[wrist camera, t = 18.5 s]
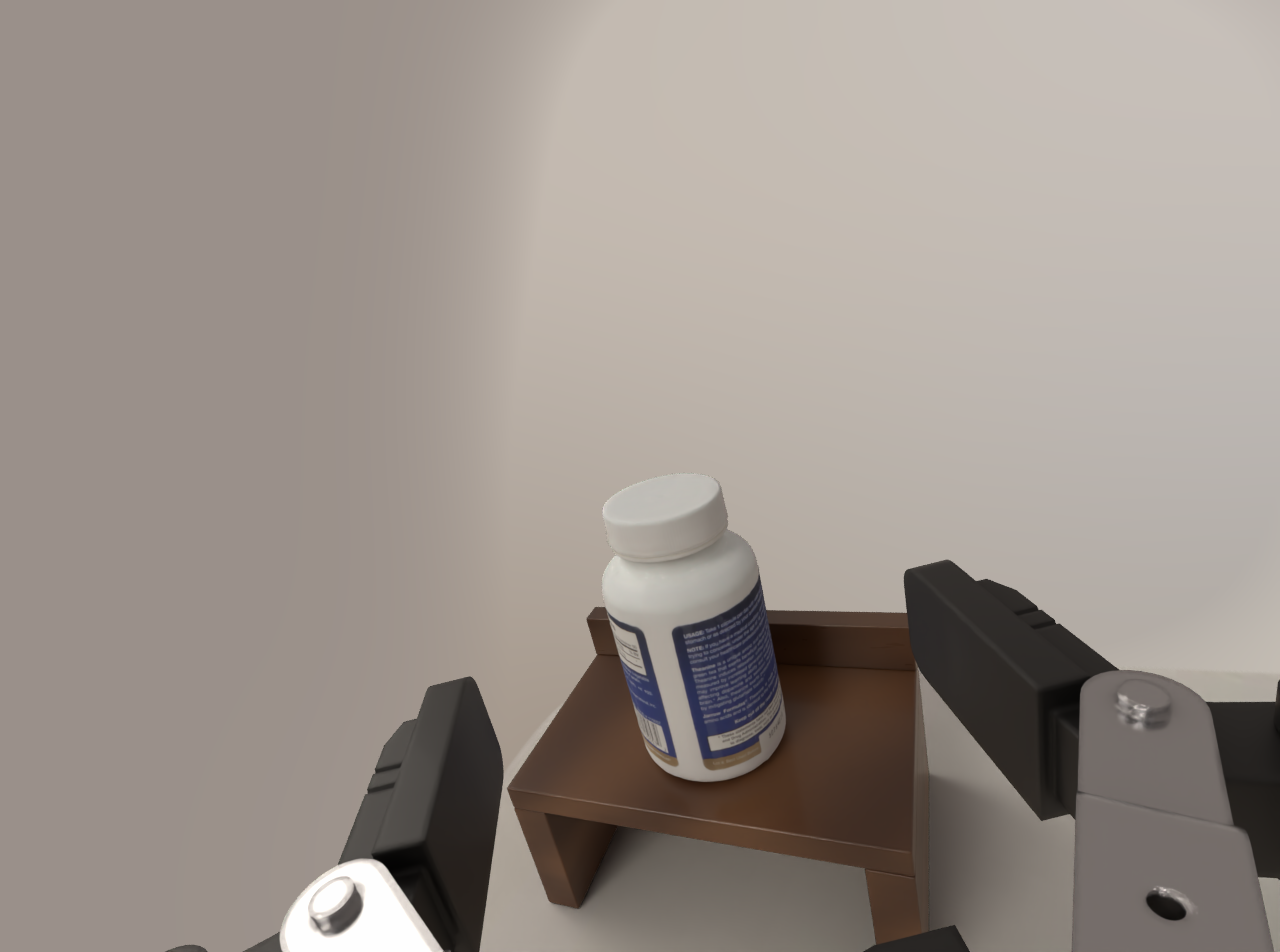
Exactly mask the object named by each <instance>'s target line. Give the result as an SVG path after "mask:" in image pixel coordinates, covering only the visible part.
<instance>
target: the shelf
mask: <svg viewBox="0 0 1280 952" xmlns="http://www.w3.org/2000/svg"><path fill="white" fill-rule="evenodd" d="M766 612H767V618H768V623H769V628H770V633H771V639H772V644H773V649H774V654H775V659H776V664H777V670H778V676H779V681H780V686H781V690H782V695H783V701H784V708H785V715H786V725H785V730H784V734H783V737H782V739H781V741H780V743H779V745H778V747H777V748H776V750H775V751H774V752H773V754H772V755H771V756H770V758H769V759H768V760H766V761H765V762H763V763H762V764H761V765H760V766H758V767H757V768H755V769H754V770H752V771H750V772H748V773H746V774H744V775H741V776H738V777H735V778H732V779H728V780H723V781H714V782H699V781H692V780H687V779H683V778H680V777H677V776H674V775H672V774H670V773H668V772H666V771H665V770H664V769H662V768H661V767H660V766H659V765H658V764H657V763H656V762H655V761H654V760H653V759H652V757H651V756H650V754H649V752H648V750H647V748H646V745H645V742H644V739H643V736H642V733H641V730H640V727H639V724H638V719H637V716H636V713H635V709H634V705H633V701H632V698H631V694H630V691H629V688H628V684H627V681H626V677H625V674H624V670H623V667H622V663H621V660H620V656H619V653H618V649H617V645H616V642H615V639H614V635H613V631H612V628H611V625H610V621H609V617H608V614H607V610H606V608H605V607H595V608H594V609H593V611H592V612H591V613H590V615H589V616H588V617H587V623H588V626H589V629H590V633H591V636H592V639H593V643H594V646H595V650H596V653H597V656H596V658H595V659H594V660H593V662H592V663H591V665H590V666H589V668H588V669H587V671H586V672H585V674H584V675H583V677H582V678H581V680H580V681H579V683H578V684H577V686H576V687H575V688H574V690H573V691H572V693H571V694H570V696H569V697H568V699H567V700H566V702H565V703H564V705H563V706H562V708H561V709H560V711H559V712H558V714H557V715H556V717H555V718H554V719H553V721H552V722H551V724H550V725H549V727H548V728H547V730H546V731H545V733H544V734H543V736H542V737H541V739H540V740H539V742H538V743H537V745H536V746H535V748H534V749H533V751H532V752H531V753H530V755H529V756H528V758H527V759H526V761H525V762H524V764H523V765H522V767H521V768H520V770H519V771H518V773H517V774H516V776H515V777H514V779H513V780H512V782H511V783H510V784H509V786H508V788H507V790H508V793H509V795H510V798H511V801H512V803H513V806H514V807H515V812H516V815H517V817H518V820H519V823H520V825H521V828H522V831H523V833H524V836H525V839H526V841H527V844H528V846H529V849H530V852H531V854H532V857H533V860H534V862H535V865H536V868H537V870H538V873H539V876H540V878H541V881H542V884H543V886H544V889H545V891H546V894H547V897H548V899H549V901H550V902H552V903H556V904H560V905H565V906H569V907H573V908H577V909H578V908H579V907H580V905H581V903H582V901H583V899H584V897H585V895H586V893H587V890H588V888H589V886H590V884H591V882H592V880H593V878H594V876H595V873H596V871H597V869H598V867H599V865H600V863H601V861H602V859H603V856H604V854H605V852H606V850H607V848H608V846H609V844H610V842H611V839H612V837H613V835H614V833H615V831H616V829H617V827H618V826H624V827H629V828H635V829H641V830H647V831H653V832H658V833H664V834H670V835H676V836H681V837H687V838H693V839H699V840H704V841H710V842H716V843H722V844H728V845H733V846H739V847H745V848H751V849H756V850H762V851H768V852H774V853H779V854H785V855H791V856H797V857H803V858H808V859H814V860H820V861H826V862H831V863H837V864H843V865H849V866H854V867H860V868H865V873H866V880H867V886H868V893H869V899H870V906H871V913H872V919H873V926H874V932H875V939H876V945H878V944H882V943H886V942H890V941H893V940H897V939H901V938H905V937H909V936H913V935H917V934H921V933H925V932H929V768H928V758H927V748H926V739H925V729H924V719H923V709H922V699H921V689H920V680H919V671H918V665H917V663H916V661H915V658H914V655H913V652H912V649H911V644H910V636H909V627H908V617H907V613H882V612H830V611H775V610H774V611H773V610H766Z"/></svg>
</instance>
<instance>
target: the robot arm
mask: <svg viewBox="0 0 1280 952" xmlns="http://www.w3.org/2000/svg"><path fill="white" fill-rule="evenodd" d="M904 588H905V598H906V607H907V617H908V627H909V636H910V644H911V649H912V652H913V655H914V658H915V661H916V663H917V665H918V667H919V669H920V671H921V673H922V674H923V676H924V677H925V678H926V680H927V681H928V682H929V683H930V685H931V686H932V687H933V688H934V689H935V691H936V692H937V693H938V694H939V696H940V697H941V698H942V699H943V701H944V702H945V703H946V704H947V705H948V707H949V708H950V709H951V710H952V712H953V713H954V714H955V715H956V717H957V718H958V719H959V720H960V721H961V723H962V724H963V725H964V726H965V728H966V729H967V730H968V731H969V733H970V734H971V735H972V736H973V737H974V739H975V740H976V741H977V742H978V744H979V745H980V746H981V747H982V748H983V750H984V751H985V752H986V753H987V755H988V756H989V757H990V758H991V760H992V761H993V762H994V763H995V764H996V766H997V767H998V768H999V769H1000V771H1001V772H1002V773H1003V774H1004V776H1005V777H1006V778H1007V779H1008V780H1009V782H1010V783H1011V784H1012V785H1013V787H1014V788H1015V789H1016V790H1017V792H1018V793H1019V794H1020V795H1021V796H1022V798H1023V799H1024V800H1025V801H1026V803H1027V804H1028V805H1029V806H1030V808H1031V809H1032V810H1033V811H1034V812H1035V814H1036V815H1037V816H1038V817H1039V819H1040V820H1041V821H1043V820H1047V819H1051V818H1055V817H1059V816H1063V815H1067V814H1071V816H1072V817H1073V818H1074V819H1075V820H1076V825H1075V860H1074V895H1073V931H1072V952H1274V949H1273V944H1272V940H1271V935H1270V931H1269V926H1268V921H1267V917H1266V912H1265V907H1264V903H1263V898H1262V894H1261V889H1260V884H1259V880H1258V877H1267V878H1278V879H1279V880H1280V680H1279V682H1278V687H1277V696H1276V702H1205V701H1204V700H1203V699H1202V698H1201V697H1200V696H1199V695H1198V694H1196V693H1195V692H1194V691H1193V690H1191V689H1190V688H1188V687H1186V686H1184V685H1183V684H1181V683H1178V682H1176V681H1174V680H1172V679H1169V678H1166V677H1163V676H1160V675H1156V674H1153V673H1148V672H1142V671H1132V670H1119V669H1117V668H1116V667H1115V666H1113V665H1112V664H1111V663H1109V662H1108V661H1107V660H1105V659H1104V658H1103V657H1102V656H1101V655H1099V654H1098V653H1097V652H1095V651H1094V650H1093V649H1091V648H1090V647H1089V646H1088V645H1086V644H1085V643H1084V642H1082V641H1081V640H1080V639H1079V638H1077V637H1076V636H1075V635H1073V634H1072V633H1071V632H1069V631H1068V630H1067V629H1066V628H1064V627H1063V626H1062V625H1060V624H1056V623H1055V620H1054V619H1053V618H1051V617H1050V616H1049V615H1048V614H1046V613H1045V612H1044V611H1042V610H1038V608H1037V606H1036V605H1035V604H1033V603H1032V602H1031V601H1030V600H1028V599H1026V597H1024V596H1023V595H1022V594H1020V593H1019V592H1018V591H1017V590H1014V589H1012V588H1009V587H1007V586H1004V585H1001V584H998V583H996V582H994V581H991V580H988V579H984V580H981V581H975V580H974V579H973V578H971V577H970V576H969V575H968V574H967V573H965V572H964V571H963V570H962V569H961V568H959V567H958V566H957V565H955V563H953V562H952V561H950V560H944V561H939V562H936V563H931V564H927V565H923V566H919V567H916V568H912V569H908V570H906V571H905V574H904ZM375 772H376V773H375V774H373V776H372V778H371V781H370V783H369V786H368V789H367V790H368V794H366V795H365V796H364V799H363V801H362V804H361V807H360V809H359V812H358V814H357V817H356V819H355V822H354V825H353V827H352V830H351V832H350V835H349V837H348V840H347V843H346V845H345V848H344V851H343V853H342V855H341V858H340V861H339V863H338V866H336V867H334V868H332V869H331V870H329V871H327V872H326V873H324V874H323V875H321V876H320V877H319V878H317V879H316V880H315V881H314V882H312V883H311V884H310V885H309V886H308V887H307V888H306V889H305V890H304V891H303V892H302V893H301V894H300V895H299V897H298V898H297V899H296V901H295V902H294V903H293V904H292V906H291V907H290V909H289V911H288V912H287V914H286V916H285V918H284V921H283V923H282V927H281V931H280V932H279V933H277V934H275V935H273V936H272V937H270V938H268V939H266V940H264V941H263V942H260V943H259V944H257V945H255V946H253V947H251V948H249V949H247V950H245V951H243V952H479V950H480V942H481V935H482V928H483V921H484V914H485V907H486V899H487V892H488V885H489V878H490V871H491V864H492V856H493V849H494V842H495V835H496V828H497V821H498V813H499V806H500V799H501V792H502V785H503V761H502V754H501V750H500V746H499V743H498V740H497V737H496V734H495V732H494V729H493V726H492V724H491V721H490V718H489V716H488V713H487V710H486V707H485V705H484V702H483V699H482V696H481V694H480V691H479V688H478V686H477V684H476V682H475V680H474V679H473V678H472V677H465V678H462V679H457V680H453V681H449V682H445V683H441V684H437V685H433V686H430V687H429V688H428V689H427V691H426V694H425V697H424V700H423V703H422V706H421V709H420V712H419V715H418V717H417V719H414V720H410V721H406V722H403V724H402V725H401V726H400V727H399V729H398V730H397V731H396V732H395V733H394V734H393V736H392V737H391V738H390V739H389V741H388V742H387V743H386V744H385V745H384V748H383V750H382V753H381V756H380V758H379V760H378V763H377V766H376V768H375ZM166 952H207V951H206V949H204V948H203V947H201V946H196V945H185V946H180V947H176V948H173V949H171V950H168V951H166ZM864 952H970V951H969V949H968V948H967V946H966V944H965V942H964V941H963V939H962V937H961V935H960V933H959V932H958V930H957V928H956V926H955V925H953V926H949V927H945V928H941V929H937V930H933V931H929V932H925V933H921V934H917V935H913V936H909V937H905V938H901V939H897V940H893V941H890V942H886V943H882V944H878V945H874V946H872V947H870V948H869V949H867V950H865V951H864Z"/></svg>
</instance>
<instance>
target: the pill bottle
mask: <svg viewBox="0 0 1280 952" xmlns="http://www.w3.org/2000/svg"><path fill="white" fill-rule="evenodd" d="M602 513H603V519H604V524H605V528H606V533H607V541H608V544H609V545H610V547H611V549H612V551H613V552H614V553H615V554H616V555H615V556H614V558H613V559H612V560H611V561H610V563H609V564H608V566H607V568H606V570H605V572H604V575H603V579H602V594H603V598H604V604H605V608H606V610H607V614H608V617H609V621H610V625H611V628H612V631H613V635H614V639H615V642H616V645H617V649H618V653H619V656H620V660H621V663H622V667H623V670H624V674H625V677H626V681H627V684H628V688H629V691H630V694H631V698H632V701H633V705H634V709H635V713H636V716H637V719H638V724H639V727H640V730H641V733H642V736H643V739H644V742H645V745H646V748H647V750H648V752H649V754H650V756H651V757H652V759H653V760H654V761H655V762H656V763H657V764H658V765H659V766H660V767H661V768H662V769H664V770H665V771H666V772H668V773H670V774H672V775H674V776H677V777H680V778H683V779H687V780H692V781H699V782H714V781H723V780H728V779H732V778H735V777H738V776H741V775H744V774H746V773H748V772H750V771H752V770H754V769H755V768H757V767H758V766H760V765H761V764H762V763H763V762H765V761H766V760H768V759H769V758H770V756H771V755H772V754H773V752H774V751H775V750H776V748H777V747H778V745H779V743H780V741H781V739H782V737H783V734H784V730H785V725H786V715H785V708H784V701H783V695H782V690H781V686H780V681H779V676H778V670H777V664H776V659H775V654H774V649H773V644H772V639H771V633H770V628H769V623H768V618H767V612H766V607H765V602H764V596H763V590H762V585H761V580H760V575H759V568H758V565H757V560H756V557H755V554H754V552H753V550H752V548H751V546H750V545H749V544H748V543H747V541H746V540H744V539H743V538H742V537H741V536H739V535H738V534H736V533H734V532H732V531H730V530H727V526H728V520H727V517H728V515H727V510H726V507H725V503H724V498H723V494H722V489H721V486H720V484H719V482H718V481H717V480H716V479H714V478H713V477H710V476H707V475H703V474H694V473H681V474H680V473H679V474H671V475H665V476H660V477H656V478H652V479H648V480H645V481H642V482H639V483H636V484H634V485H631V486H629V487H627V488H625V489H623V490H621V491H619V492H618V493H616V494H615V495H613V496H612V497H611V498H610V499H608V501H607V502H606V503H605V505H604V506H603V511H602Z"/></svg>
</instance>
